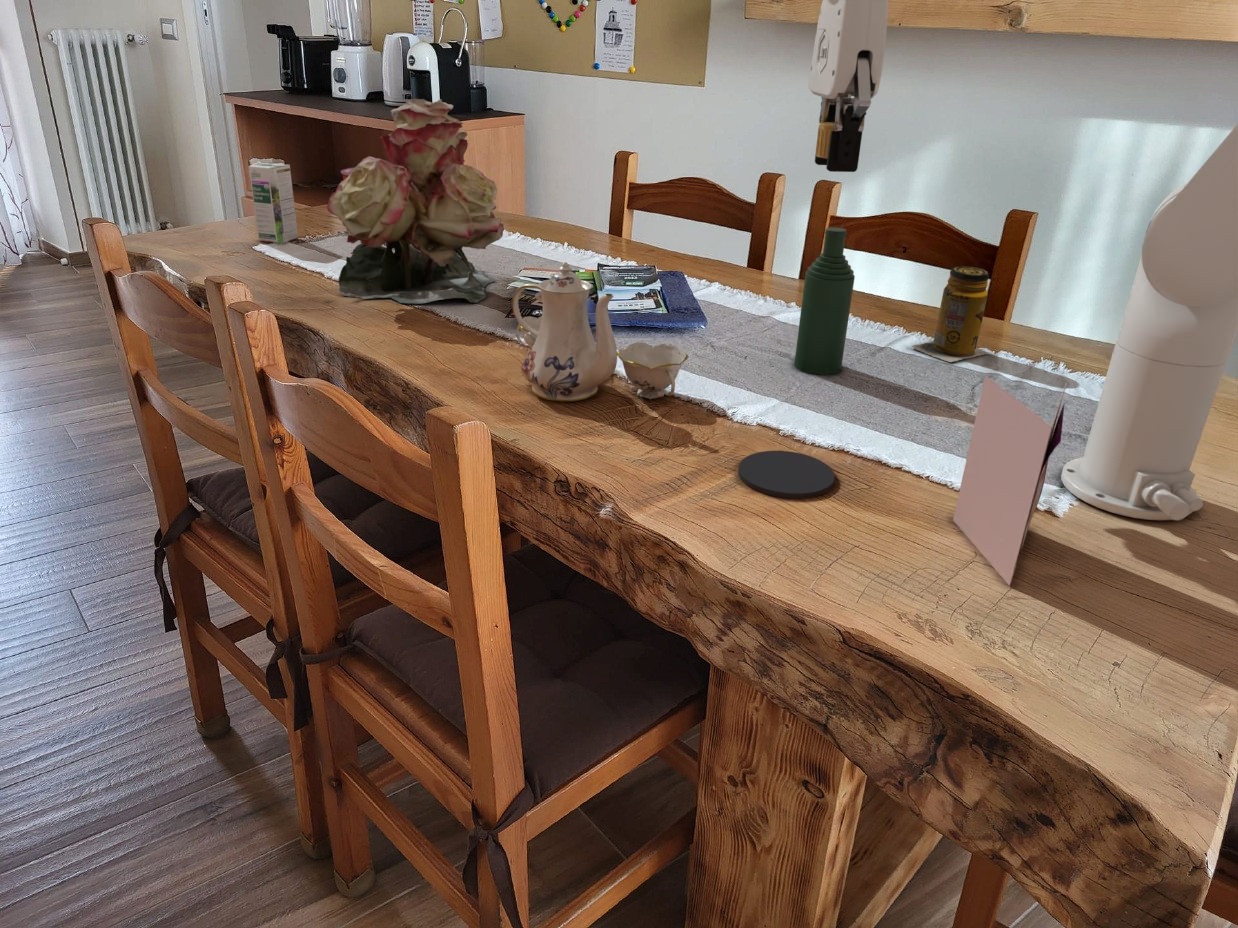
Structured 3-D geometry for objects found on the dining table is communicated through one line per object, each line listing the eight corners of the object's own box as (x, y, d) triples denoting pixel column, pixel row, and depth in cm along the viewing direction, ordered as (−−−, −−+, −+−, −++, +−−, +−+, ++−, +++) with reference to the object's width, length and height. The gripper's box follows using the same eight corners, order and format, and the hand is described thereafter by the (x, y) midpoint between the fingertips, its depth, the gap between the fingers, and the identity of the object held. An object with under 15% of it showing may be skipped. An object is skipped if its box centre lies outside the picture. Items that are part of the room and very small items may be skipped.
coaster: (846, 497, 92) (847, 492, 92) (749, 499, 91) (750, 494, 91) (818, 454, 101) (818, 449, 101) (729, 455, 100) (729, 451, 100)
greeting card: (1020, 589, 78) (1063, 429, 72) (932, 564, 81) (965, 409, 75) (1037, 531, 87) (1076, 385, 81) (957, 511, 90) (989, 368, 84)
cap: (813, 153, 100) (816, 121, 98) (849, 154, 100) (853, 122, 98) (818, 159, 96) (822, 125, 95) (856, 159, 96) (860, 126, 95)
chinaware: (703, 402, 118) (720, 272, 112) (633, 431, 105) (647, 287, 99) (534, 355, 132) (541, 238, 126) (453, 376, 118) (456, 246, 112)
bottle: (847, 374, 124) (868, 235, 116) (801, 375, 123) (819, 234, 115) (832, 358, 130) (851, 224, 121) (788, 359, 129) (804, 224, 121)
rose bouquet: (321, 303, 146) (298, 102, 132) (393, 260, 172) (380, 88, 158) (475, 317, 142) (467, 111, 129) (525, 271, 168) (523, 96, 154)
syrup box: (257, 241, 182) (246, 165, 175) (275, 235, 187) (265, 161, 181) (282, 244, 180) (272, 167, 174) (299, 238, 186) (290, 163, 179)
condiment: (987, 354, 134) (1005, 273, 129) (950, 363, 130) (967, 280, 124) (947, 339, 139) (963, 261, 134) (909, 348, 135) (924, 268, 130)
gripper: (801, -23, 97) (782, 156, 106) (847, -29, 83) (822, 180, 91) (869, -21, 98) (846, 157, 106) (928, -27, 83) (895, 181, 91)
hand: (835, 166), depth 98 cm, fingers closed on cap, 3 cm apart
